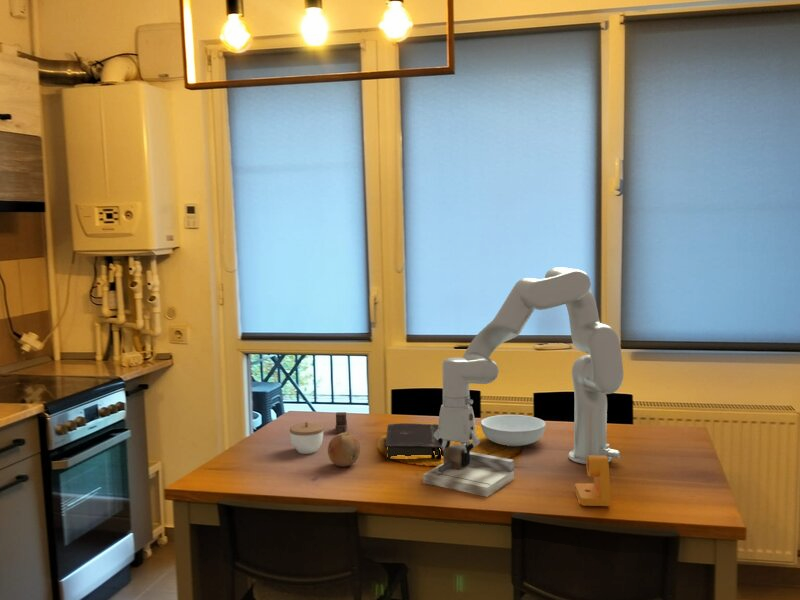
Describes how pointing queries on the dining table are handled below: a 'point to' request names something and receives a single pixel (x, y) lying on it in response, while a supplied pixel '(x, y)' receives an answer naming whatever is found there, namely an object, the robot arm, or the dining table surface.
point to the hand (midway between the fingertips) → (456, 462)
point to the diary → (412, 439)
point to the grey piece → (474, 475)
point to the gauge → (452, 458)
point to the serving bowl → (513, 429)
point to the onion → (344, 449)
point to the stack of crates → (341, 422)
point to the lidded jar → (306, 437)
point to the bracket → (595, 483)
